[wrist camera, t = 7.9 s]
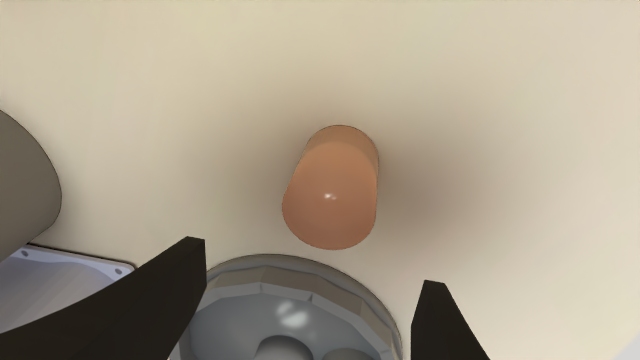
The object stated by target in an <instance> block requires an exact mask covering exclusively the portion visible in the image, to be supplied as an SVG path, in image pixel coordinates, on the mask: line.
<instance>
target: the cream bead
mask: <svg viewBox="0 0 640 360" xmlns="http://www.w3.org/2000/svg"><path fill="white" fill-rule="evenodd" d="M322 360H374V359H373V358H371V357H370V356H369V355H367V354H366V353H364V352H361V351H359V350H355V349H350V348H340V349H335V350H332V351H330V352H328V353H327V354H326V355H324V357H323V358H322Z"/></svg>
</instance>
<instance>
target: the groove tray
mask: <svg viewBox="0 0 640 360" xmlns="http://www.w3.org/2000/svg"><path fill="white" fill-rule="evenodd" d="M206 274H207V287H206V290H205V292H204V294H203V297H202V299H201V301H200V303H199V306H198V308H197V310H196V312H195V314H194V316H193V318H192V319H191V321H190V323H189V324H188V326H187V328H186V329H185V331H184V333H183V334H182V336H181V337H180V339H179V341H178V342H177V344H176V346H175V347H174V349H173V350H172V352H171V354H170V355H169V357H170V360H322V358H323V357H324V355H326V354H327V353H328V352H330V351H332V350H335V349H340V348H350V349H355V350H359V351H361V352H364V353H366V354H367V355H369V356H370V357H371V358H373V359H374V360H402V344H401V339H400V334H399V332H398V329H397V326H396V324H395V322H394V320H393V319H392V317H391V315H390V313H389V312H388V311H387V309H386V308H385V307H384V305H383V304H382V303H381V302H380V301H379V300H378V299H377V298H376V297H375V296H374V295H373V294H372V293H371V292H370V291H369V290H368V289H366V288H365V287H364V286H362V285H361V284H360V283H358V282H357V281H356V280H354V279H352V278H350V277H349V276H347V275H345V274H344V273H342V272H340V271H338V270H335V269H333V268H331V267H329V266H326V265H323V264H321V263H318V262H315V261H312V260H307V259H303V258H299V257H293V256H286V255H268V254H262V255H252V256H245V257H241V258H236V259H233V260H230V261H227V262H224V263H221V264H220V265H218V266H216V267H214V268H212V269H210V270H209V271H208V272H206Z"/></svg>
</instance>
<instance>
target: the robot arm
mask: <svg viewBox="0 0 640 360" xmlns="http://www.w3.org/2000/svg"><path fill="white" fill-rule="evenodd" d="M206 287H207V274H206V256H205V239H199V238H194V237H189V236H187V237H185V238H184V239H182V240H180V241H179V242H177V243H176V244H174V245H173V246H171V247H170V248H168V249H167V250H165V251H164V252H162V253H161V254H159V255H158V256H156V257H155V258H153V259H151V260H150V261H148V262H147V263H145V264H144V265H142V266H140V267H139V268H137V269H136V270H135V269H134V268H133V266H131V265H129V264H125V263H120V262H115V261H109V260H104V259H99V258H94V257H88V256H83V255H78V254H73V253H67V252H62V251H57V250H52V249H46V248H41V247H36V246H30V245H24V246H23V247H21V248H20V249H19V250H17V251H16V252H15V253H13V254H12V255H10V256H9V257H8V258H6V259H5V260H4V261H2V262H1V263H0V360H167V359H168V357H169V355H170V354H171V352H172V350H173V349H174V347H175V346H176V344H177V342H178V341H179V339H180V337H181V336H182V334H183V333H184V331H185V329H186V328H187V326H188V324H189V323H190V321H191V319H192V318H193V316H194V314H195V312H196V310H197V308H198V306H199V303H200V301H201V299H202V297H203V294H204V292H205V290H206ZM411 360H490V359H489V357H488V356H487V354H486V353H485V351H484V350H483V348H482V347H481V345H480V344H479V342H478V340H477V339H476V337H475V335H474V334H473V332H472V331H471V329H470V327H469V326H468V324H467V322H466V321H465V319H464V317H463V315H462V314H461V312H460V310H459V308H458V306H457V305H456V303H455V301H454V299H453V297H452V295H451V293H450V292H449V290H448V288H447V286H446V285H445V283H440V282H435V281H429V280H424V283H423V287H422V290H421V294H420V297H419V300H418V304H417V307H416V311H415V314H414V317H413V321H412V324H411Z"/></svg>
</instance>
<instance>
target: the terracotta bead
mask: <svg viewBox="0 0 640 360" xmlns="http://www.w3.org/2000/svg"><path fill="white" fill-rule="evenodd" d="M378 164H379V158H378V153H377V150H376V147H375V145H374V144H373V142H372V141H371V140H370V138H369V137H368V136H366V135H365V134H364V133H363V132H361V131H359V130H357V129H355V128H352V127H349V126H342V125H338V126H330V127H327V128H324V129H322V130H320V131H318V132H317V133H316V134H315V135H313V136H312V138H311V139H310V140H309V142H308V143H307V145H306V148H305V150H304V152H303V154H302V156H301V159H300V161H299V163H298V165H297V168H296V170H295V172H294V174H293V176H292V179H291V181H290V183H289V185H288V187H287V190H286V192H285V194H284V197H283V201H282V212H283V217H284V220H285V222H286V224H287V226H288V227H289V229H290V230H291V231H292V232H293V234H294V235H296V236H297V237H298V238H299V239H300V240H302V241H303V242H305V243H307V244H309V245H311V246H314V247H317V248H320V249H326V250H340V249H346V248H349V247H352V246H354V245H356V244H358V243H360V242H361V241H362V240H363V239H365V238H366V237H367V236H368V234H369V233H370V231H371V230H372V228H373V226H374V222H375V217H376V200H377V182H378Z"/></svg>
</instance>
